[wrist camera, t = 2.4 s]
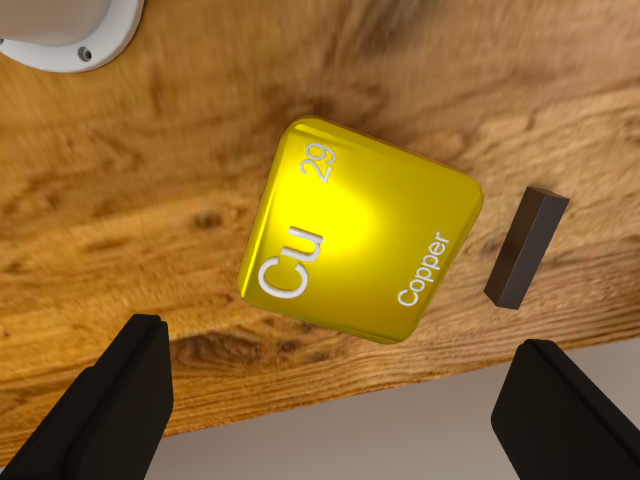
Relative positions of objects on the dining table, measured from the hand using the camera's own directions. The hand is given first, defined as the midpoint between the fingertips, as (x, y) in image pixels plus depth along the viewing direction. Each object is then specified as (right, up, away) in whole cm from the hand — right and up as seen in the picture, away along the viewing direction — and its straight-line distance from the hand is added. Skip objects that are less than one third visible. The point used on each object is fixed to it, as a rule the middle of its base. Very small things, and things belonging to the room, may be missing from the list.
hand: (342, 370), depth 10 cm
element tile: (+2, +5, +21) cm, 21 cm away
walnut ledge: (+16, +3, +22) cm, 27 cm away
